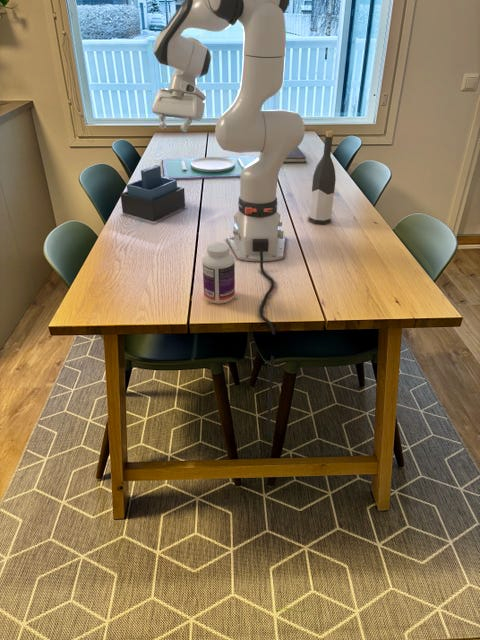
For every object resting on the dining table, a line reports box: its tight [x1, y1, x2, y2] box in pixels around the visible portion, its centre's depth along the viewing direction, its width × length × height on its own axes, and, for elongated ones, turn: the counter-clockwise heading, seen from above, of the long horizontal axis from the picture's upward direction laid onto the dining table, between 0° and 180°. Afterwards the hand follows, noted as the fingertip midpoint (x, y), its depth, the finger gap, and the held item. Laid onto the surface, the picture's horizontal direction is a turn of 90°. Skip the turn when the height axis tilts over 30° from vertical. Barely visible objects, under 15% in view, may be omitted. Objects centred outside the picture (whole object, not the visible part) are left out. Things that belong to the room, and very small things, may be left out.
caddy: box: [126, 164, 178, 201], centre depth 167 cm, size 14×11×15 cm
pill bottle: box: [201, 241, 236, 304], centre depth 119 cm, size 8×8×14 cm
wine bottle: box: [308, 130, 337, 225], centre depth 159 cm, size 8×8×30 cm
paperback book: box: [283, 146, 307, 164], centre depth 234 cm, size 16×23×2 cm
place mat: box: [162, 155, 257, 181], centre depth 217 cm, size 45×30×2 cm
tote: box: [119, 185, 186, 223], centre depth 170 cm, size 18×15×8 cm
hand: (172, 129), depth 166 cm, fingers open, 8 cm apart
